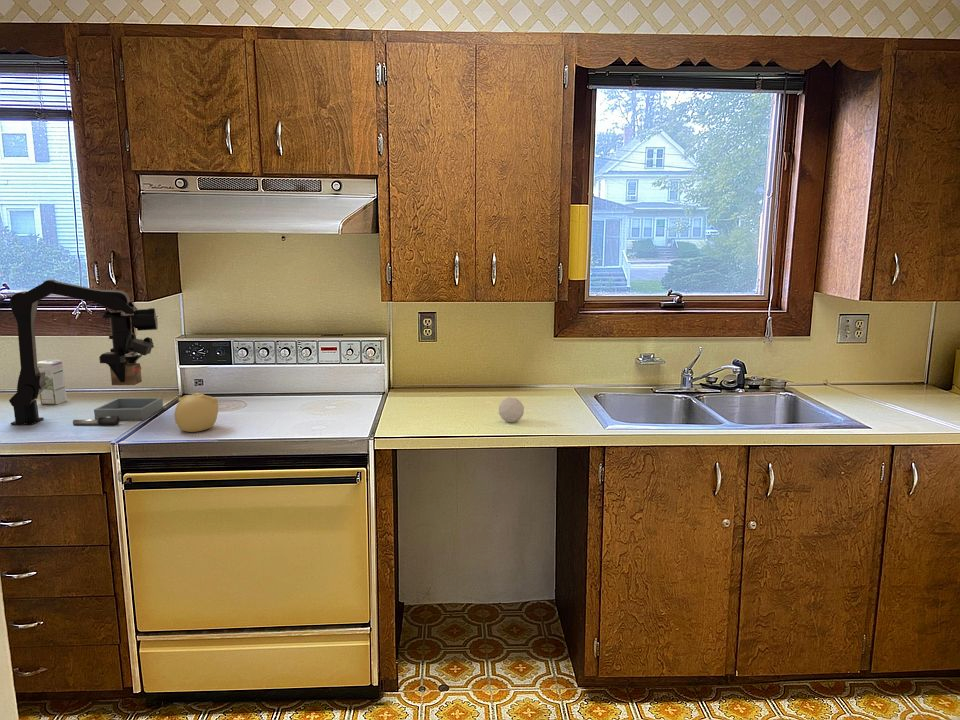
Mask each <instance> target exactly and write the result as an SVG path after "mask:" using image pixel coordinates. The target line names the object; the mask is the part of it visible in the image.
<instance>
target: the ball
mask: <svg viewBox="0 0 960 720" xmlns="http://www.w3.org/2000/svg"><path fill="white" fill-rule="evenodd" d="M524 412H525V406H524V405H523V403H522V402H521V401H520V400H519V399H518V398H517V397H509V396H508V397H506V398H505V399H503V400H502V401H501V402H500V404H499V406H498V415H499V417H500V418H501V420H503V421H504V422H506V423H512V424H514V423H516V422H518V421H520V420H521V419H522V417H523V416H524Z"/></svg>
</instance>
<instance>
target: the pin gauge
mask: <svg viewBox="0 0 960 720" xmlns="http://www.w3.org/2000/svg"><path fill="white" fill-rule="evenodd" d="M119 424H120V420H119V417H118V416H100V417H99V419H98V420H95V419H73V420H72V425H73V426H118V425H119Z"/></svg>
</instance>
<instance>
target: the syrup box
mask: <svg viewBox="0 0 960 720" xmlns="http://www.w3.org/2000/svg"><path fill="white" fill-rule="evenodd" d="M37 367H38V369H39V371H40V373H42V372H45V382H46V384H47V385H45V386H44V389H43V391H42V392H41V393H40V394H39V398H40V399H39V400H40V404H41V405H60V404H62V403H65V402H67V401H68V400H67V399H68V398H67V397H68V396H67V393H66V392H67V391H66V384H65V383H66V382H65V375H64V374H65V373H64V366H63V360H62V359H43V360H39V361H37Z"/></svg>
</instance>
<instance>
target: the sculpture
mask: <svg viewBox="0 0 960 720" xmlns="http://www.w3.org/2000/svg"><path fill="white" fill-rule="evenodd" d="M218 414H219V400H218V398H217V397H213V396H210V395H205V394H204V393H202V392H195V393H193V394H186V395H185V394H184V396H182V397H180V398H178V403H177V405H176V407H175V410H174V421H175V424H176V426H177V427H178V428H179V429H180V430H181V431H184V432H187V433H189V432H190V433H194V432H195V433H196V432H201V431H205V430H208V429H211V428H212V427H214V425H215V423H216V421H217V418H218Z"/></svg>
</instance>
